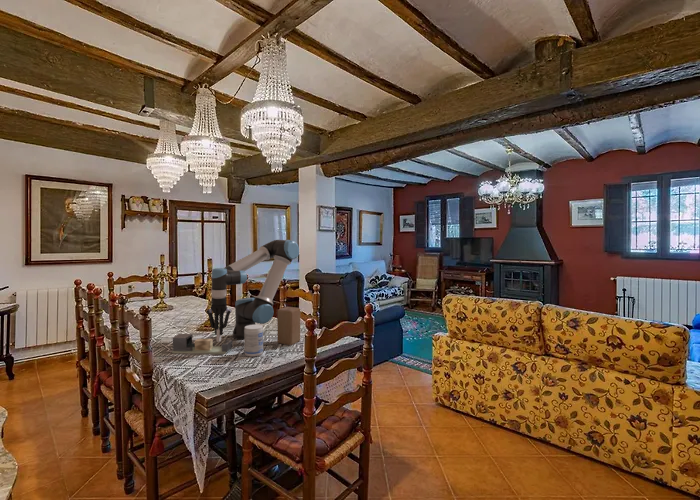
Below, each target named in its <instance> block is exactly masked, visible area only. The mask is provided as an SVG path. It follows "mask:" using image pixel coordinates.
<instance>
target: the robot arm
mask: <svg viewBox="0 0 700 500" xmlns="http://www.w3.org/2000/svg"><path fill="white" fill-rule="evenodd" d="M299 255H300V247H299V244H298V243H297V242H296V241H295V240H290V239H275V240H271V241H269V242H267V243H265V244H264V245H261V246H260V247H259V249H257V250H256V251H253V252H252V253H250V254H248V255H246V256H244V257H242V258H241V259H238V260H236V261H235V262H234V261H233V263H230V264H229V265H227V266H225V267H217V268H215V267H214V268H213V269H212V270H211V306H210V308H209V309H207V310H206V314H207V315H208V319H209V323H210V327H211V328H212V329H214V335H215V336H216V343H217V342H221V341H222V336H223V334H224V329H226V328H227V327H228V322H229V319H230V315H231V313H232V310H231V309H229V308H228V306H227V304H228V303H227V290H228V289H227V288H228V286H232V285H233V286H234V285H241V284H245V283H247V280H248V274H247V272H246V271H247V270H250V269H251V268H253V267H255V266H257V265H258V264H261V263H262V262H263V261H269V260H271V259H274V260H273V263H272V264H271V267H270V270H269V271H268V274H267V277H266V279H265V280H264V283H263V284H262V287H261V289H260V292H259V293H258V295H257V296H255V297H245V298H240V299H237V300H235V305H234V308H235V312H234V313H235V324H234V328H233V331H232V338H234V339H236V340H244V329H245V326H248V325H264V324H266V323H269V322H270V321H271V320H272V318H273V316H274V308H273V307H274V302H273V299H274V297H275V295H276V293H277V291H278V288H279V286H280V284H281V281H282V278H283V276H284V274H285V272H286V270H287V267H288V266H289V265H291V264H292V261H293V260H295V259H297V258H298V257H299ZM224 314H225V315H224ZM224 316H225V318H224Z"/></svg>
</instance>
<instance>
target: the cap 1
mask: <svg viewBox="0 0 700 500" xmlns="http://www.w3.org/2000/svg"><path fill="white" fill-rule="evenodd" d="M193 347H195V342H193V333H178V334H176V335H175V336H173V337H172V351H193Z"/></svg>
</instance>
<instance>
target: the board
mask: <svg viewBox="0 0 700 500" xmlns="http://www.w3.org/2000/svg"><path fill="white" fill-rule="evenodd" d="M171 353H172V354H193V355H194V354H196V355H197V354H198V355H200V354H202V355H203V354H205V355H208V354H209V355H211V354H212V355H226V354H227V353H228V352H222V345H221V346H220V345H219V346H218V345H217V346H216V345H215V346H213V348H212V349H211V350H195V347H193V351H173V350H172V352H171Z"/></svg>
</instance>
